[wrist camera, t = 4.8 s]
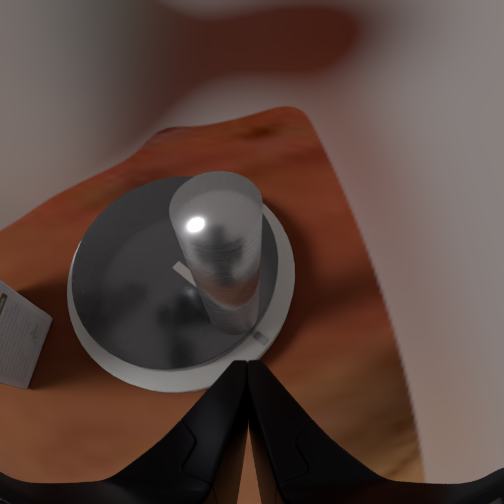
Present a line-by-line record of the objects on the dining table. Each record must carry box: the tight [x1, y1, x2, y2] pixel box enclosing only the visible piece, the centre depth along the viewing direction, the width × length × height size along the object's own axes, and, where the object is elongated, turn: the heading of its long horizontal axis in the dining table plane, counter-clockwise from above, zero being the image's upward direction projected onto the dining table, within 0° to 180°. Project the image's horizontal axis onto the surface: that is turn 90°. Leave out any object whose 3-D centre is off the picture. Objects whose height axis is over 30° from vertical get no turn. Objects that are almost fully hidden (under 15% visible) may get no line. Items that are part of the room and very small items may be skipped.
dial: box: [72, 171, 278, 372], centre depth 13 cm, size 12×12×9 cm
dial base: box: [67, 204, 295, 393], centre depth 18 cm, size 14×14×2 cm
